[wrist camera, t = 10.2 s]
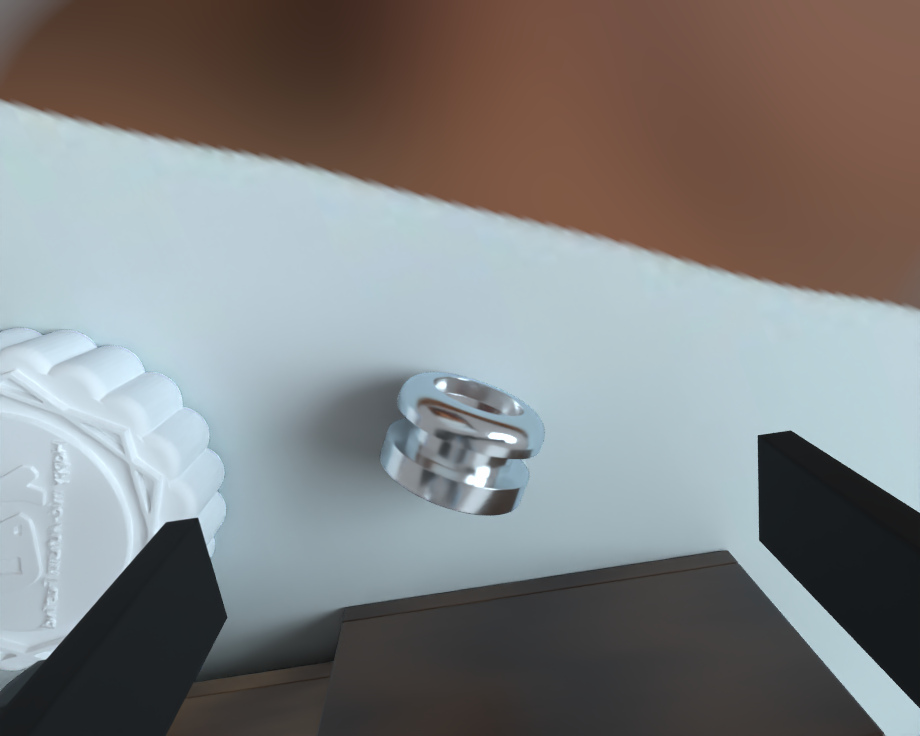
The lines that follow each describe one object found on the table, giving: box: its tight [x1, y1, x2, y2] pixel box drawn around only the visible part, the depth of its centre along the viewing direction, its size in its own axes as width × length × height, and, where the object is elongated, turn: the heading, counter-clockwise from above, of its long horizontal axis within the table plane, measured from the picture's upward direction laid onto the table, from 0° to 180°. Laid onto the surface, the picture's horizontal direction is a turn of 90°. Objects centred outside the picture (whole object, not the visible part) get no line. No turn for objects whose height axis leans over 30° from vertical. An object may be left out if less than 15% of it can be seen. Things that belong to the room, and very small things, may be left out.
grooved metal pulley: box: [380, 372, 545, 515], centre depth 20 cm, size 5×3×5 cm, turn 72°
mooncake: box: [0, 327, 226, 671], centre depth 21 cm, size 12×12×4 cm
